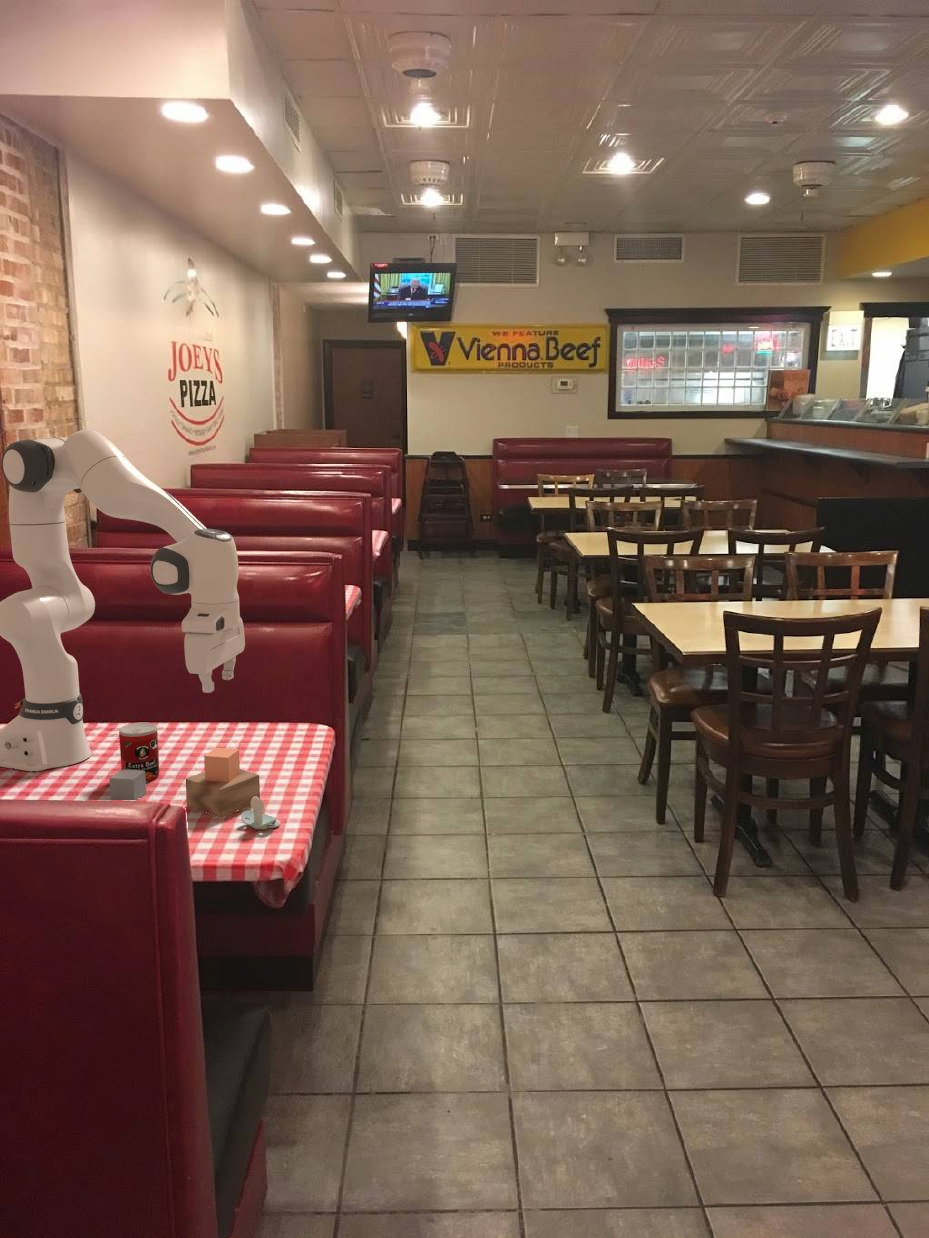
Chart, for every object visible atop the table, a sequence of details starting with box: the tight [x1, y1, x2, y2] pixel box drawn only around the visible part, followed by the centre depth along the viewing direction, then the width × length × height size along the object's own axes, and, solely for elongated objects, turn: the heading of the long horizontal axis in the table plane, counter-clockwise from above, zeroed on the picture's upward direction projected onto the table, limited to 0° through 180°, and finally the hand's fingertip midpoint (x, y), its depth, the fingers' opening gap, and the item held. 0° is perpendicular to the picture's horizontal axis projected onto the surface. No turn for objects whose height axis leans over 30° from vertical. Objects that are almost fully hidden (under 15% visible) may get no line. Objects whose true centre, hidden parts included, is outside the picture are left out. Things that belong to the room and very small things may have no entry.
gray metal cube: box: [109, 769, 147, 801], centre depth 190 cm, size 5×5×5 cm
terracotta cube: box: [203, 747, 241, 782], centre depth 186 cm, size 5×5×5 cm
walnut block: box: [185, 768, 261, 819], centre depth 188 cm, size 10×10×6 cm
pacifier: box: [240, 796, 281, 830], centre depth 178 cm, size 7×6×6 cm
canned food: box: [118, 721, 160, 783], centre depth 201 cm, size 8×8×11 cm
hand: (218, 685), depth 183 cm, fingers open, 8 cm apart
